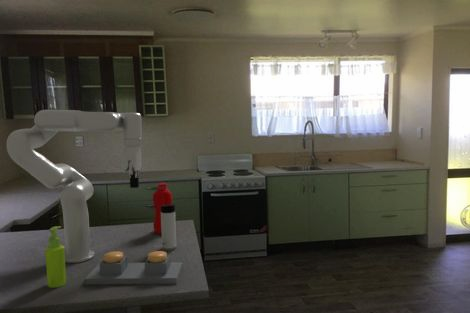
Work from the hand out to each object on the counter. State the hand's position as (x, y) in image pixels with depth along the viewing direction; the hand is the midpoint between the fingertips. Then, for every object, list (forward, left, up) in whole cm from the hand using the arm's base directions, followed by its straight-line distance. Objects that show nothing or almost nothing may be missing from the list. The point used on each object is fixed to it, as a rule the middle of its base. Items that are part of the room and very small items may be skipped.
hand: (134, 187), depth 151 cm
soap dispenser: (-21, -26, -29) cm, 44 cm away
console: (+5, -20, -29) cm, 36 cm away
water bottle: (+4, +32, -29) cm, 44 cm away
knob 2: (+13, -20, -27) cm, 36 cm away
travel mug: (+12, +8, -29) cm, 33 cm away
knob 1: (-3, -20, -27) cm, 34 cm away
